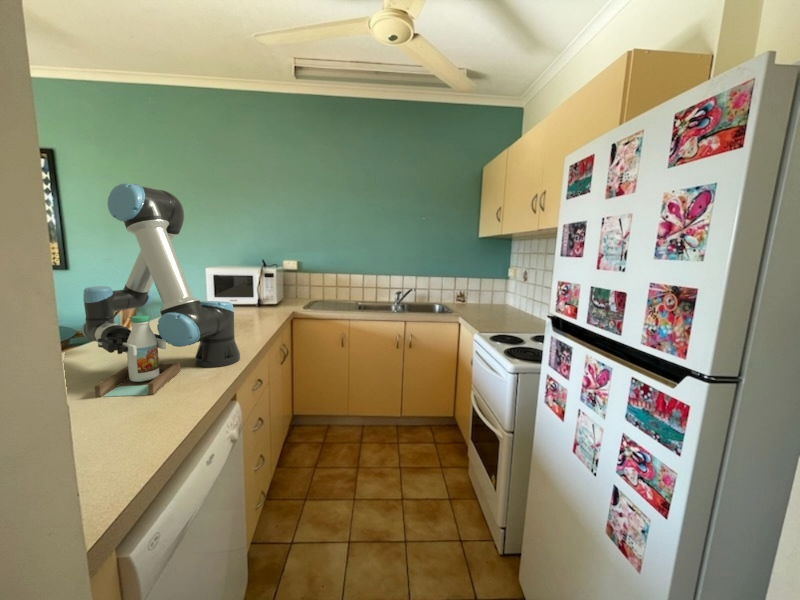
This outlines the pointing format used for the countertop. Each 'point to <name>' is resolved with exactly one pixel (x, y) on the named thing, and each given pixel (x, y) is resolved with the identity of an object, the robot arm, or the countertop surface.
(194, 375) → the countertop surface
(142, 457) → the countertop surface
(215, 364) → the robot arm
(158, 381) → the bay
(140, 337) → the milk bottle
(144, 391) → the pad
